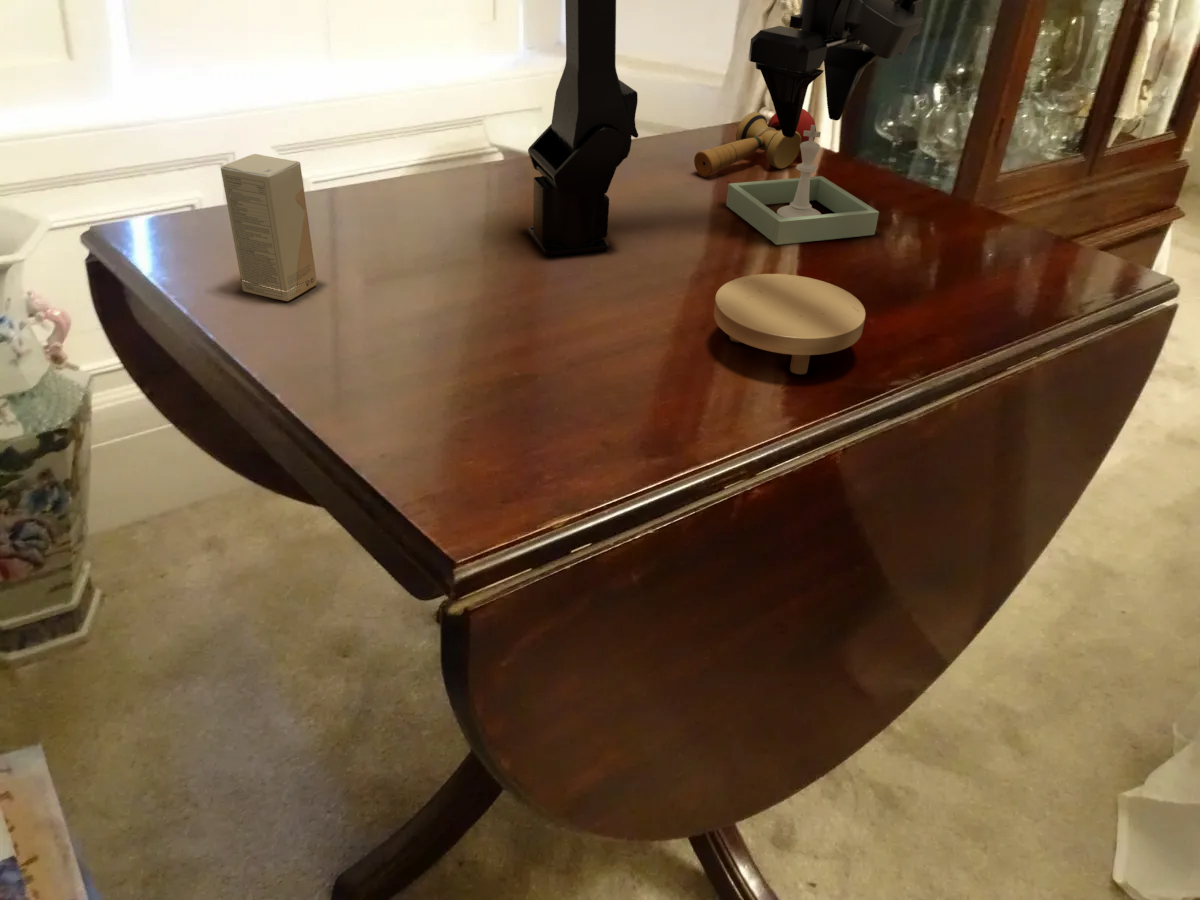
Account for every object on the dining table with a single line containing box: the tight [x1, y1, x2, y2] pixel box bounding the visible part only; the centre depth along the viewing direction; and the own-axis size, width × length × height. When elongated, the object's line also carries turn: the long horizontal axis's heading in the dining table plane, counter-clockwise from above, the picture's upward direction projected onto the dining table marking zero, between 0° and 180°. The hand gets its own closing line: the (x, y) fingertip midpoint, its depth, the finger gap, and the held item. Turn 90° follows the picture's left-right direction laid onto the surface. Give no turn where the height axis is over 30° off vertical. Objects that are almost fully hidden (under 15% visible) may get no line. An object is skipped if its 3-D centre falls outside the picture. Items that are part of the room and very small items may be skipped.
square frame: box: [725, 175, 880, 246], centre depth 110 cm, size 12×12×2 cm
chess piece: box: [776, 124, 822, 218], centre depth 108 cm, size 5×5×10 cm
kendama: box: [693, 108, 817, 178], centre depth 124 cm, size 8×6×18 cm
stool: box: [713, 273, 867, 375], centre depth 84 cm, size 12×12×4 cm
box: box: [220, 153, 318, 302], centre depth 88 cm, size 5×4×11 cm
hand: (812, 127), depth 105 cm, fingers open, 9 cm apart
